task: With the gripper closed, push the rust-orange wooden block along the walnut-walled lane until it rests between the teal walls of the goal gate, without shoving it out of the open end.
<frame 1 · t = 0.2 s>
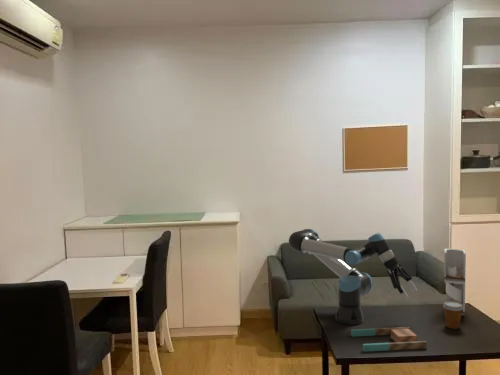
hand: (410, 295, 234), 16 cm above the table, tool tilted 35°, fingers open, 13 cm apart
goal gate: (369, 342, 213), on the table
white open shelf: (454, 311, 254), on the table
disposable coffee cup: (452, 326, 231), on the table
lane walls: (387, 341, 213), on the table
wooden block: (403, 341, 214), on the table
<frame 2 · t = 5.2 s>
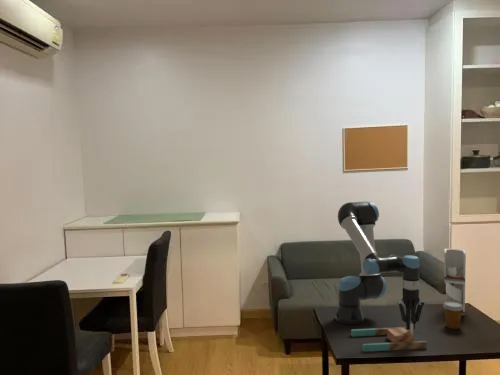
hand: (410, 335, 214), 2 cm above the table, tool pointing down, fingers closed
wooden block: (400, 341, 214), on the table, touching gripper
everything else where it was.
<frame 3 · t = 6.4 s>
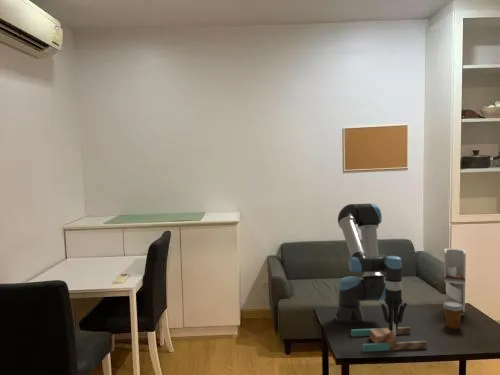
hand: (393, 336, 214), 2 cm above the table, tool pointing down, fingers closed
wooden block: (382, 341, 214), on the table
everything else where it was.
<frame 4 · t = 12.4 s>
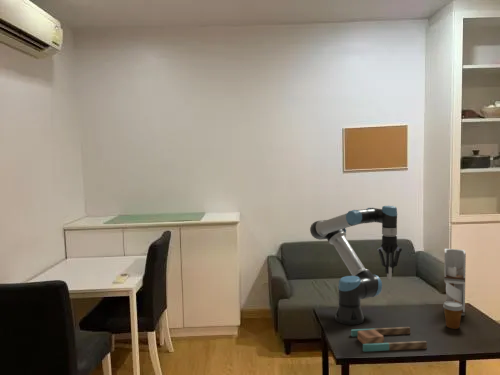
hand: (389, 279, 234), 24 cm above the table, tool pointing down, fingers closed
wooden block: (370, 342, 213), on the table
everything else where it was.
at the end: wooden block 0.9 cm from the goal gate (horizontally); wooden block tilted 0°; wooden block moved 16.3 cm from its start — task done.
